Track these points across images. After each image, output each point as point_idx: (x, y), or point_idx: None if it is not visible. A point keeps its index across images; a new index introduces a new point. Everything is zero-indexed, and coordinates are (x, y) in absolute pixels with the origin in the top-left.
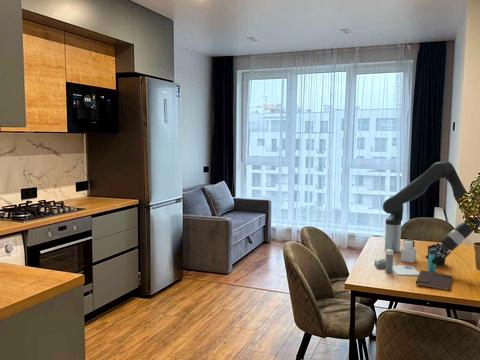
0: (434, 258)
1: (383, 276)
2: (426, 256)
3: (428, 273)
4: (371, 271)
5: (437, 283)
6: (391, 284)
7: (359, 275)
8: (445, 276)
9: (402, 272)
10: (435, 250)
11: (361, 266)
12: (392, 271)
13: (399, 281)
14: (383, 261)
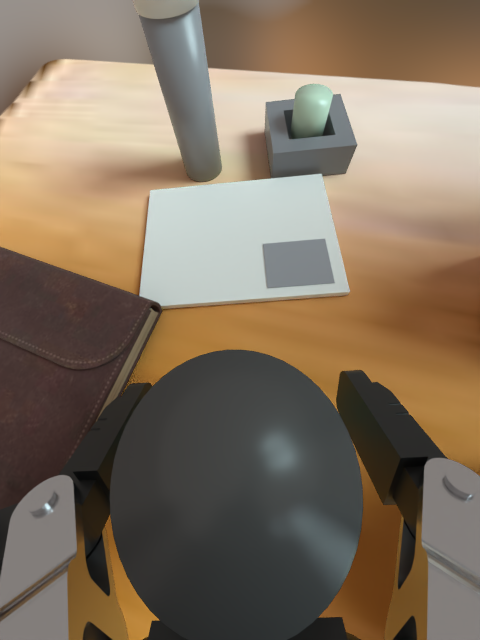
0: (109, 427)
1: (137, 145)
2: (350, 376)
3: (72, 334)
4: None
5: None
6: (25, 161)
7: (152, 79)
8: (18, 463)
9: (182, 215)
10: (122, 549)
11: (288, 84)
12: (192, 173)
13: (59, 192)
14: (293, 111)
